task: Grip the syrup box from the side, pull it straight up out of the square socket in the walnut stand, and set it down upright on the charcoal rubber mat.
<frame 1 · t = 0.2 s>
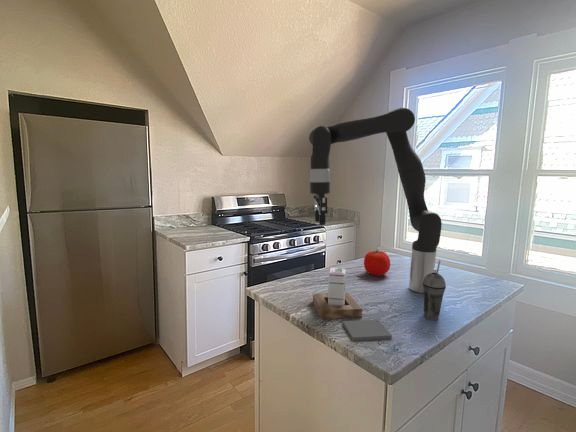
hand: (320, 223, 123), 29 cm above the counter, tool pointing down, fingers open, 8 cm apart
tomato: (376, 274, 152), on the counter
charcoal rubber mat: (366, 331, 99), on the counter
walnut socket stand: (335, 309, 114), on the counter
syrup box: (335, 309, 114), resting in walnut socket stand
beverage cup: (431, 317, 109), on the counter
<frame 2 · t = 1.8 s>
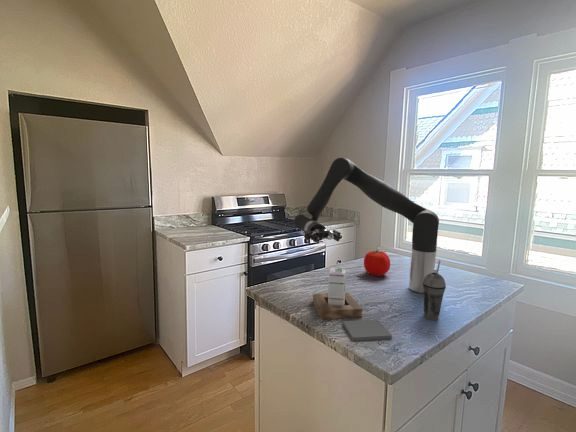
hand: (327, 238, 121), 23 cm above the counter, tool horizontal, fingers open, 8 cm apart
nothing on the counter moved.
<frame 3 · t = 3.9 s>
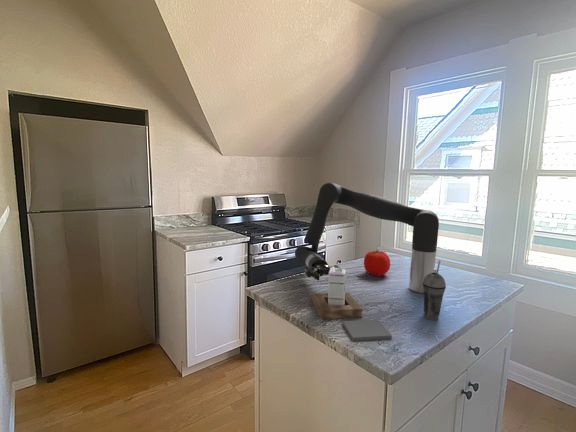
hand: (329, 277, 120), 9 cm above the counter, tool horizontal, fingers open, 8 cm apart
nothing on the counter moved.
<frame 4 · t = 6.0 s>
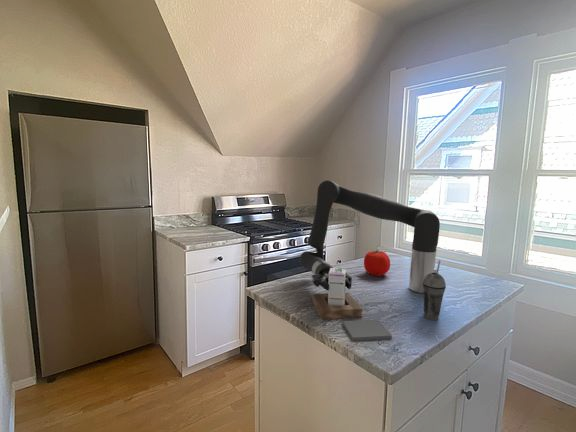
hand: (339, 287, 110), 9 cm above the counter, tool horizontal, fingers closed on syrup box, 7 cm apart
syrup box: (335, 309, 114), resting in walnut socket stand, touching gripper
everything else where it was.
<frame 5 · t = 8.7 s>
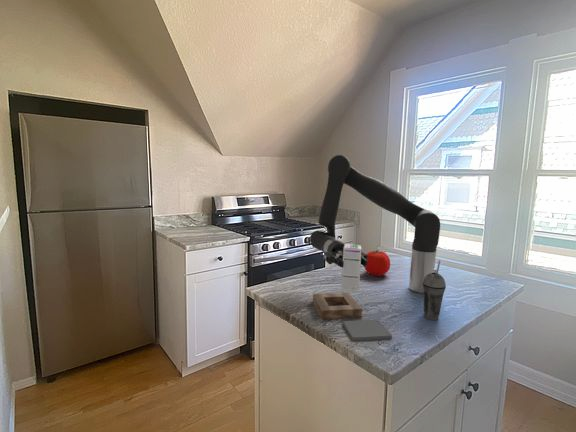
hand: (354, 264, 102), 20 cm above the counter, tool horizontal, fingers closed on syrup box, 7 cm apart
syrup box: (349, 289, 105), point 10 cm above the counter, touching gripper
everything else where it was.
when the fingers open (11 cm above the counter, at t = 11.5 s): syrup box stays where it is, resting on charcoal rubber mat.
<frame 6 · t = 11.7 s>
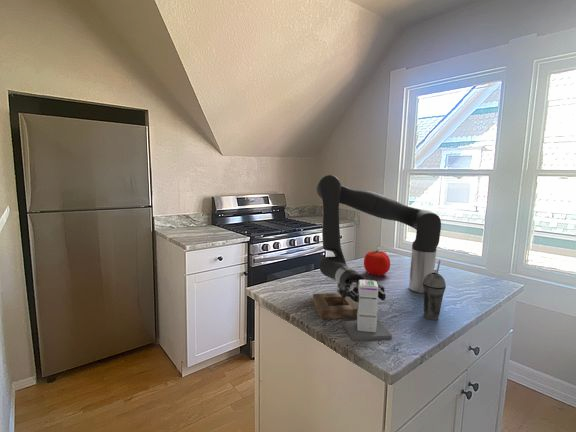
hand: (371, 298, 95), 11 cm above the counter, tool horizontal, fingers open, 8 cm apart
syrup box: (365, 328, 99), point 1 cm above the counter, touching charcoal rubber mat
everything else where it was.
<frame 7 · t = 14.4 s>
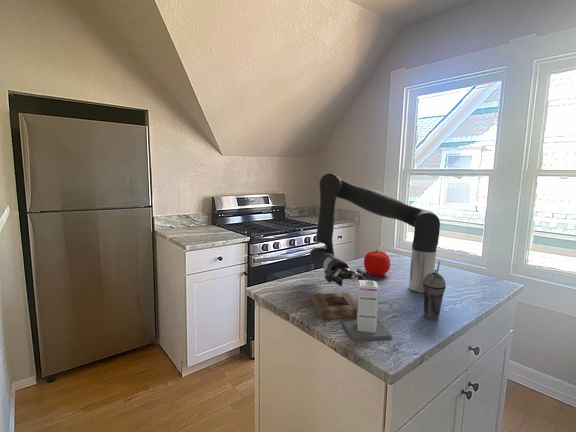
hand: (353, 282, 108), 12 cm above the counter, tool horizontal, fingers open, 8 cm apart
nothing on the counter moved.
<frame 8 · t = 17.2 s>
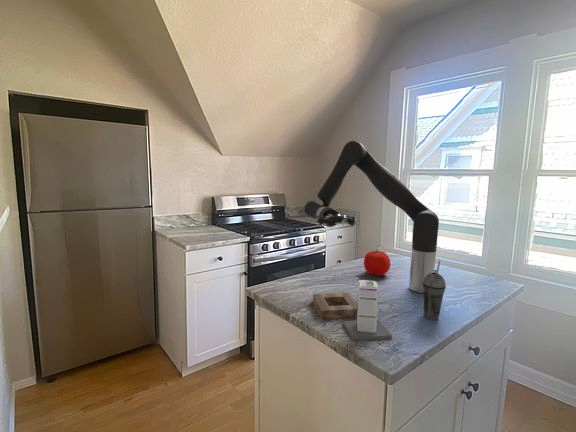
hand: (342, 222, 117), 30 cm above the counter, tool horizontal, fingers open, 8 cm apart
nothing on the counter moved.
at the end: syrup box inside the target area on the charcoal rubber mat (0.2 cm from its centre), point 0.8 cm above the charcoal rubber mat's base; syrup box tilted 0°; the gripper is holding nothing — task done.
